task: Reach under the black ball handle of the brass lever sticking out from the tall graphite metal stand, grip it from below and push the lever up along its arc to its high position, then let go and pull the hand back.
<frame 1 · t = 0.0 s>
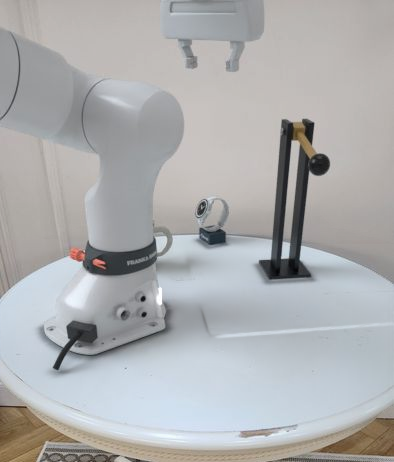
hand: (211, 69, 93), 39 cm above the table, tool pointing down, fingers open, 8 cm apart
watch: (211, 243, 130), on the table
lever: (307, 147, 94), point 27 cm above the table, hinge at -12.0°
stand: (283, 272, 115), on the table
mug: (146, 265, 118), on the table
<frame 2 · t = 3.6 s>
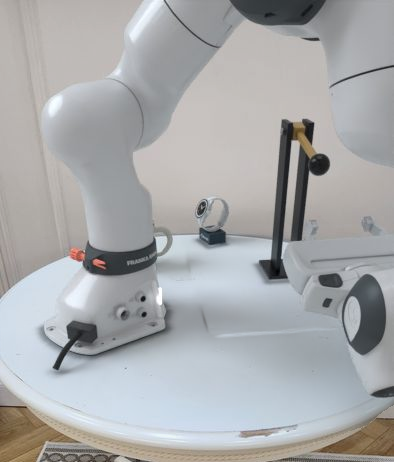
hand: (338, 220, 83), 20 cm above the table, tool pointing upward, fingers open, 8 cm apart
nothing on the table moved.
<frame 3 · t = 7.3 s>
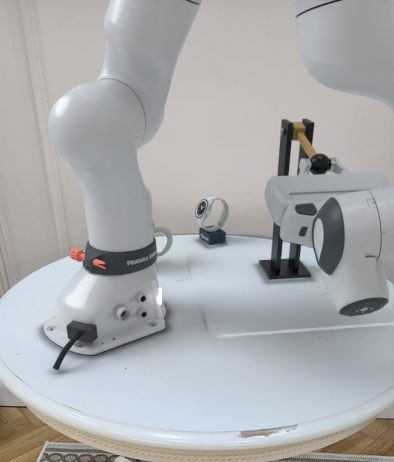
hand: (317, 160, 90), 26 cm above the table, tool pointing upward, fingers closed on lever, 3 cm apart
lever: (307, 147, 94), point 27 cm above the table, hinge at -12.0°, touching gripper
everything else where it was.
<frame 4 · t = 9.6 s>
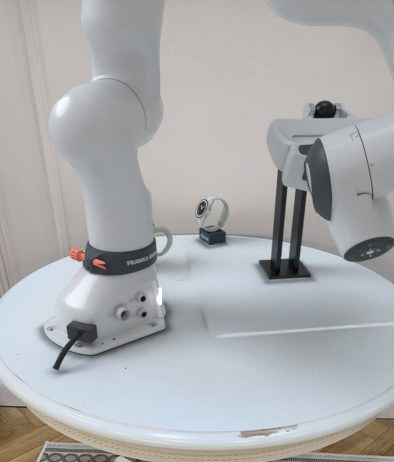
hand: (322, 106, 86), 34 cm above the table, tool pointing upward, fingers closed on lever, 3 cm apart
lever: (309, 122, 92), point 31 cm above the table, hinge at 21.3°, touching gripper
everything else where it was.
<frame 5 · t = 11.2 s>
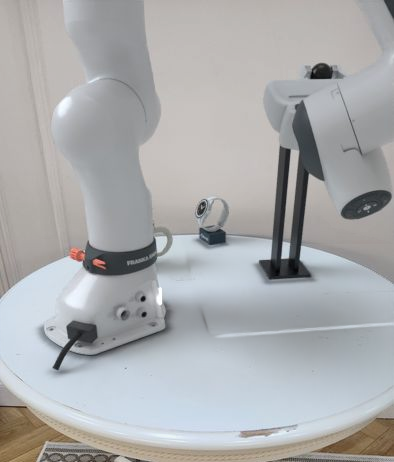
hand: (318, 69, 86), 39 cm above the table, tool pointing upward, fingers closed on lever, 3 cm apart
lever: (308, 104, 92), point 34 cm above the table, hinge at 46.4°, touching gripper
everything else where it was.
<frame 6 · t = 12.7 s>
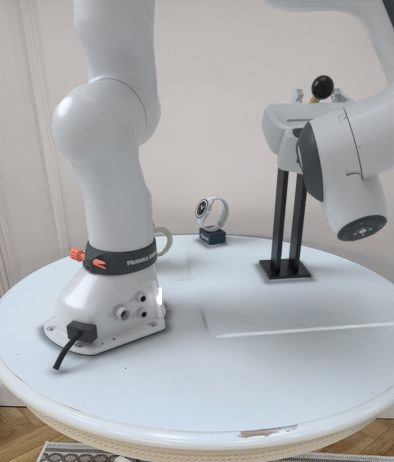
hand: (316, 92, 88), 36 cm above the table, tool pointing upward, fingers open, 5 cm apart
lever: (309, 110, 92), point 33 cm above the table, hinge at 37.4°
everything else where it was.
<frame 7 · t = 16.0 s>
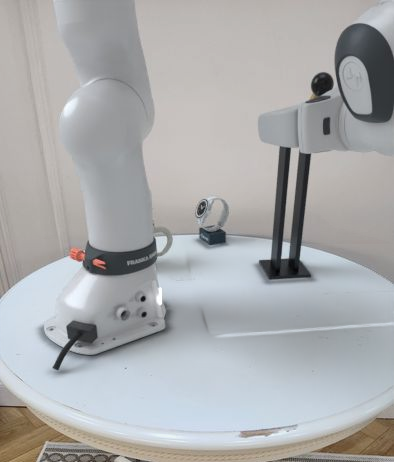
hand: (287, 112, 85), 34 cm above the table, tool horizontal, fingers open, 8 cm apart
lever: (309, 109, 92), point 33 cm above the table, hinge at 39.5°
everything else where it was.
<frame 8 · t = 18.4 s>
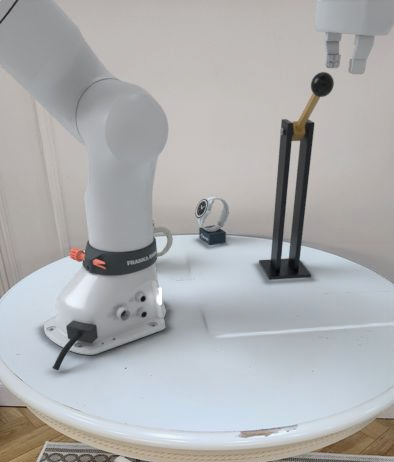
hand: (343, 70, 76), 40 cm above the table, tool pointing down, fingers open, 8 cm apart
nothing on the table moved.
at the end: lever at +40° (first picture: -12°); watch moved 0.2 cm from its start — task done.
